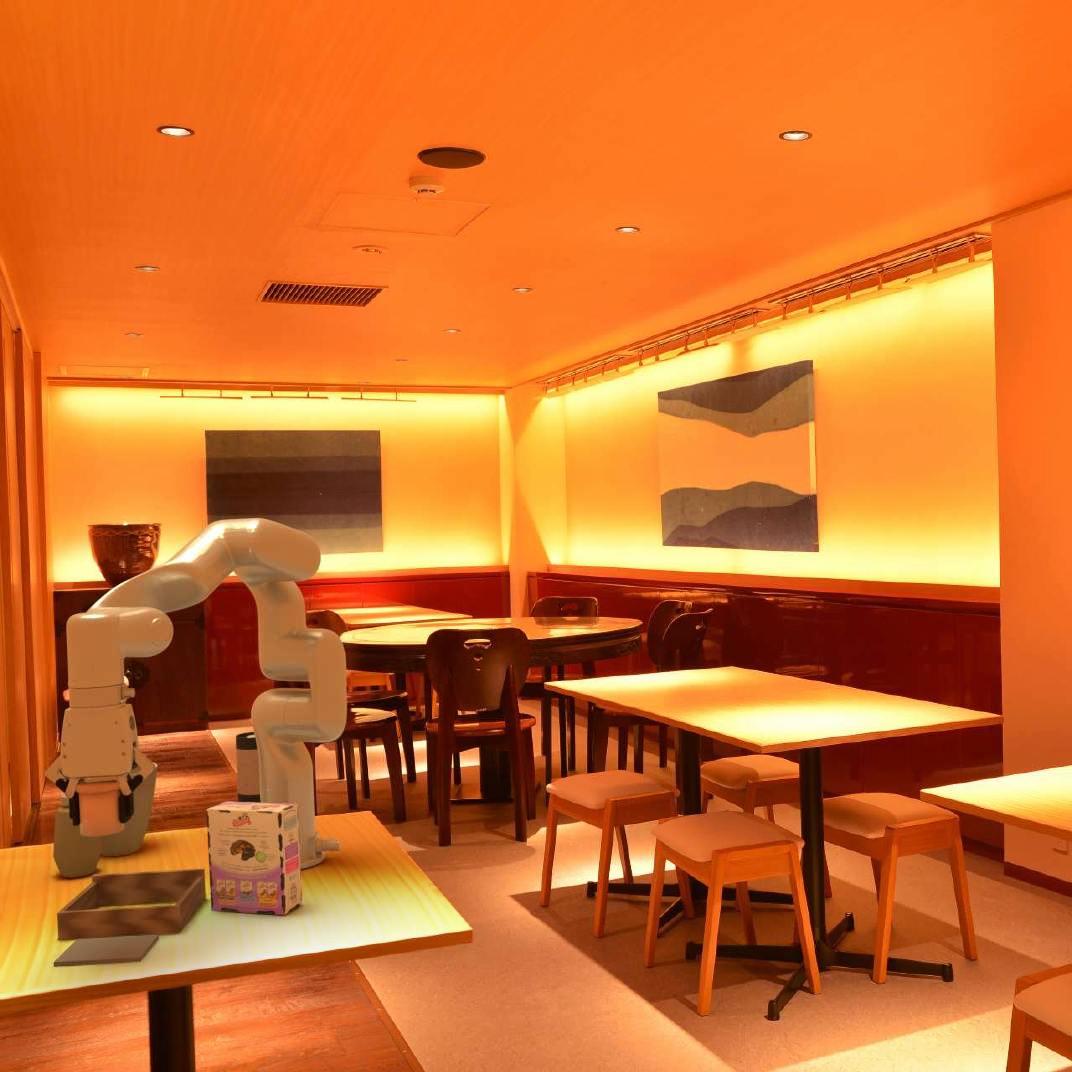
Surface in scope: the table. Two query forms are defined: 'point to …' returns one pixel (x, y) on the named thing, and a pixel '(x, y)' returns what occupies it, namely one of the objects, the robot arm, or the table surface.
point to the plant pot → (132, 820)
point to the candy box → (254, 857)
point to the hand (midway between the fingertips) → (102, 821)
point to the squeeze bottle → (73, 846)
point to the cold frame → (128, 890)
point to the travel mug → (247, 768)
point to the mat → (106, 950)
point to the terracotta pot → (99, 806)
